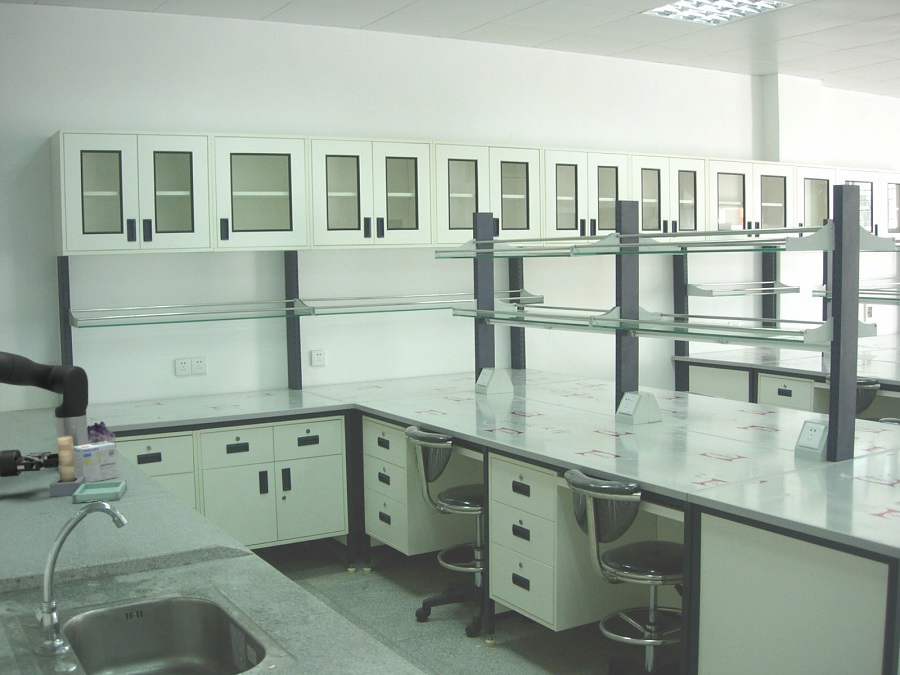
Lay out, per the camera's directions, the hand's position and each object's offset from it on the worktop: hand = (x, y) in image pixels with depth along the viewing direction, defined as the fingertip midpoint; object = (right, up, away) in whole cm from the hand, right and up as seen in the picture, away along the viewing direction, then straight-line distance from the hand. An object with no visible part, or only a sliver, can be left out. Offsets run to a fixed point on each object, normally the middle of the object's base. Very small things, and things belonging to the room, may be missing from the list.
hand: (62, 459), depth 258 cm
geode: (-15, -5, +64) cm, 66 cm away
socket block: (+1, -9, +1) cm, 10 cm away
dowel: (+1, -9, +1) cm, 10 cm away
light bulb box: (+3, -8, +17) cm, 19 cm away
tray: (+13, -9, -4) cm, 16 cm away
